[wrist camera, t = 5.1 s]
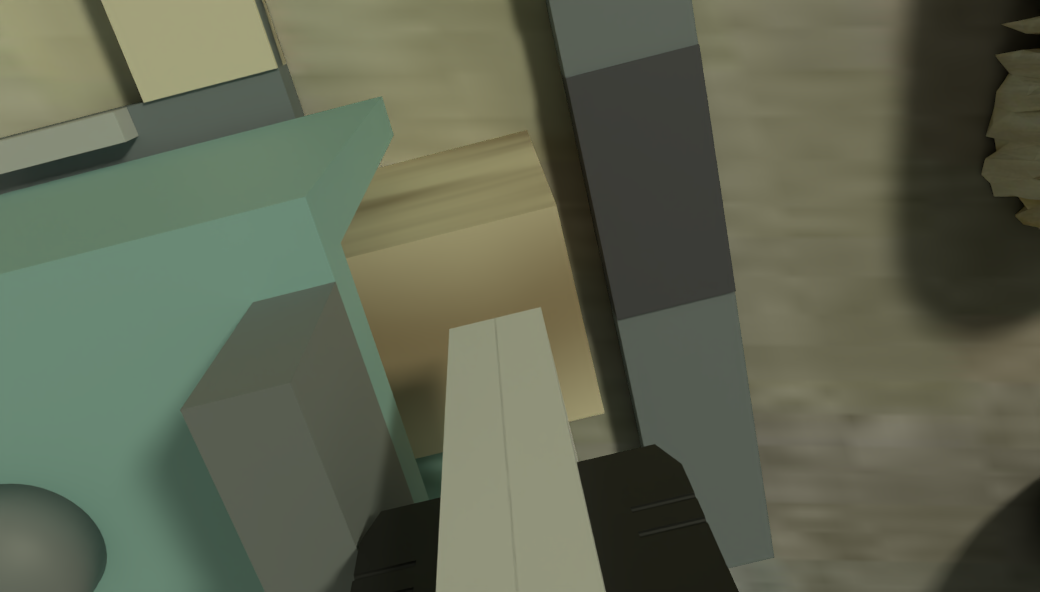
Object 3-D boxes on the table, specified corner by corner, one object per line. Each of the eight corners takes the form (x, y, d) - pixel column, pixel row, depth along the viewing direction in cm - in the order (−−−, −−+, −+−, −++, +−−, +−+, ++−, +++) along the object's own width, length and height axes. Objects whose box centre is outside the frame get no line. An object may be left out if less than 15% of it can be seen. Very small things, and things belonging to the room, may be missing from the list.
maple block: (561, 277, 24) (604, 413, 16) (416, 313, 24) (391, 464, 16) (526, 130, 22) (556, 205, 14) (370, 170, 22) (319, 264, 15)
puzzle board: (764, 538, 28) (783, 574, 26) (40, 707, 28) (13, 753, 27) (617, -419, 18) (633, -461, 16) (-494, -112, 18) (-590, -121, 17)
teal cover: (469, 386, 23) (470, 833, 11) (141, 466, 23) (-212, 986, 11) (381, 96, 20) (246, 273, 8) (2, 193, 20) (-693, 509, 8)
